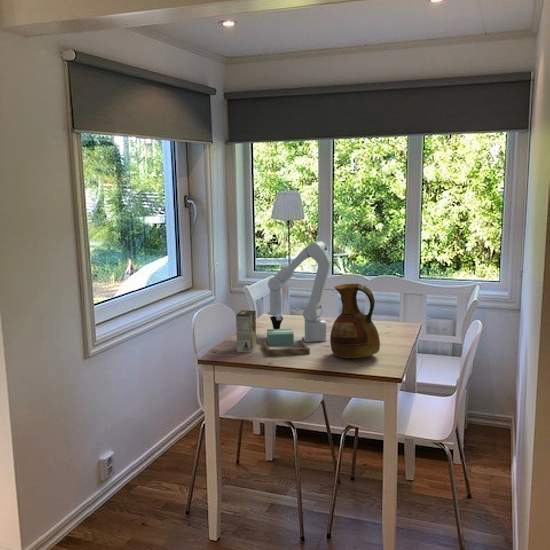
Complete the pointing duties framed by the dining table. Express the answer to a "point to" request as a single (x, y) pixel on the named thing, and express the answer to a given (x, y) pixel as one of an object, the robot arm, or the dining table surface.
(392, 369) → the dining table surface
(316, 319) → the robot arm
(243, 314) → the coffee box
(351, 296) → the ceramic pitcher
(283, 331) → the teal rectangular block
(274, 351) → the display stand
